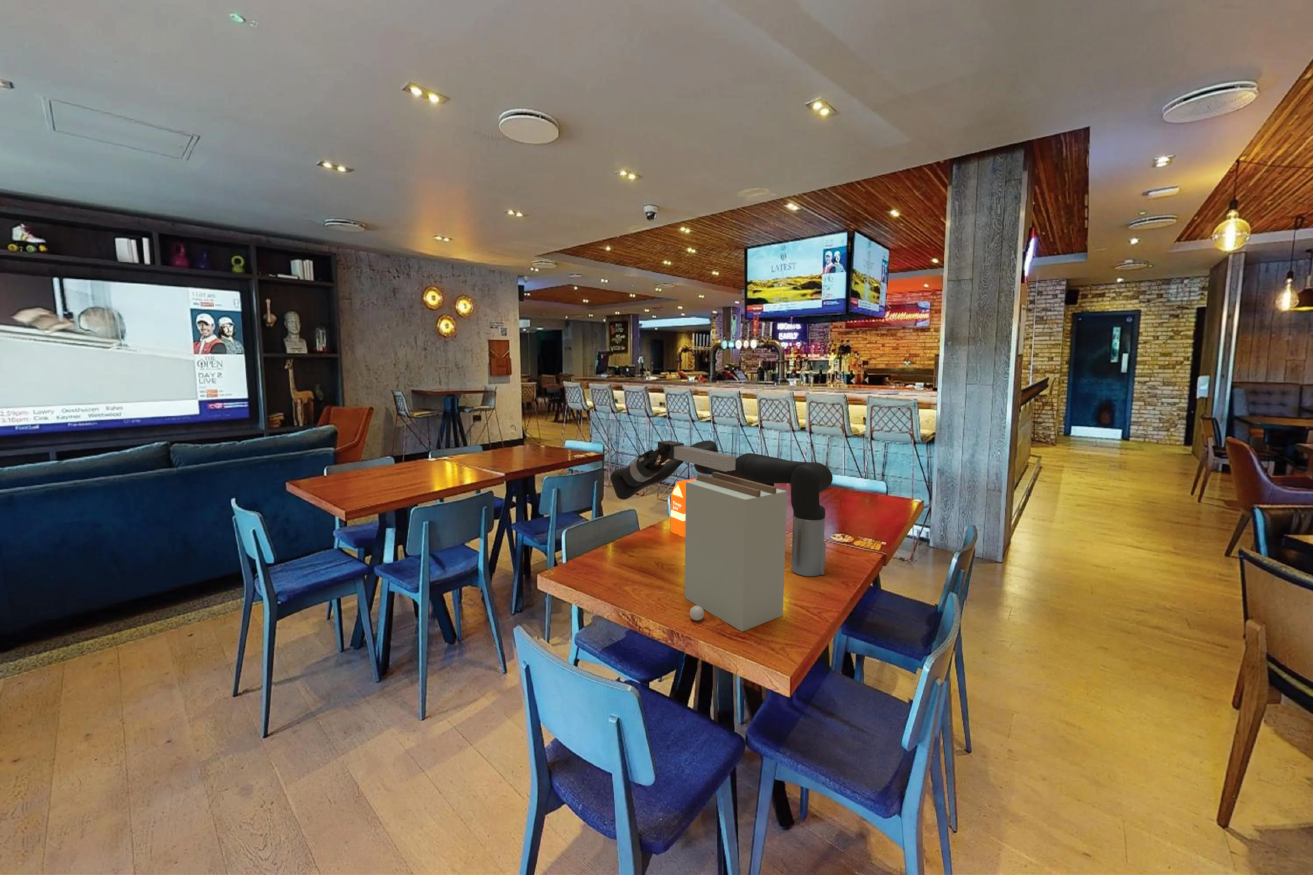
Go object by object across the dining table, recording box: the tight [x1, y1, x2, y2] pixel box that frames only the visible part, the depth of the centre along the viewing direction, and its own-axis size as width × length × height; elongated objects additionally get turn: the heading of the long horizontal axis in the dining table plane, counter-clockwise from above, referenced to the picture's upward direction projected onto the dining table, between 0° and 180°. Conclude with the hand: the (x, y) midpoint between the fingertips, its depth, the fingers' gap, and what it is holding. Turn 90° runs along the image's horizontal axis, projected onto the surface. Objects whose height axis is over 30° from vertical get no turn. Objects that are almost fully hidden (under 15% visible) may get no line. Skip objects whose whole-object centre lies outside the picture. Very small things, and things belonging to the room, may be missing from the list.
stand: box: [684, 472, 788, 633], centre depth 135 cm, size 23×14×34 cm, turn 35°
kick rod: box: [657, 440, 737, 471], centre depth 145 cm, size 29×4×4 cm, turn 35°
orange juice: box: [670, 478, 697, 538], centre depth 196 cm, size 8×9×20 cm
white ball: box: [689, 605, 705, 621], centre depth 129 cm, size 4×4×4 cm
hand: (674, 446), depth 152 cm, fingers closed on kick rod, 4 cm apart
